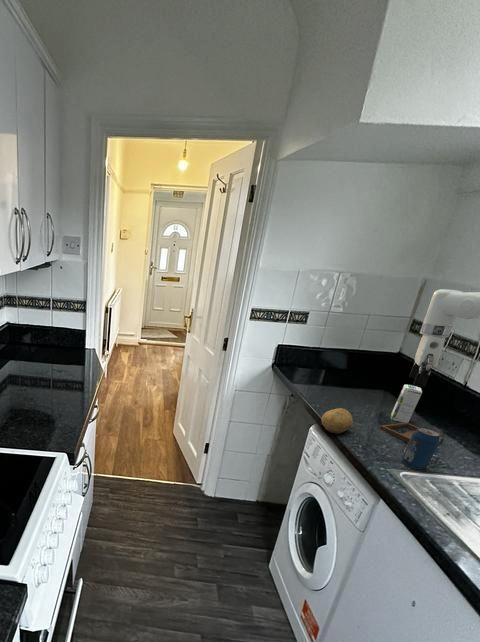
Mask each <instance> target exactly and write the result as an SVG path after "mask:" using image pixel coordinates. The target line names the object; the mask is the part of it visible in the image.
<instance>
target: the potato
mask: <svg viewBox="0 0 480 642" xmlns="http://www.w3.org/2000/svg"><path fill="white" fill-rule="evenodd" d="M353 424H354V422H353V416H352V414H351V413H350V411H348V410H347V409H345V408H342V407H338V408H334V409H331V410H328V411H326V412H324V413H323V414H322V416H321V425H322V426H323V427H324V429H325V430H326V431H327V432H328V433H331V434H336V435H337V434H338V435H339V434H342V433H344V432H347V431H348V430H350V429H351V428H352V426H353Z"/></svg>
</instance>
